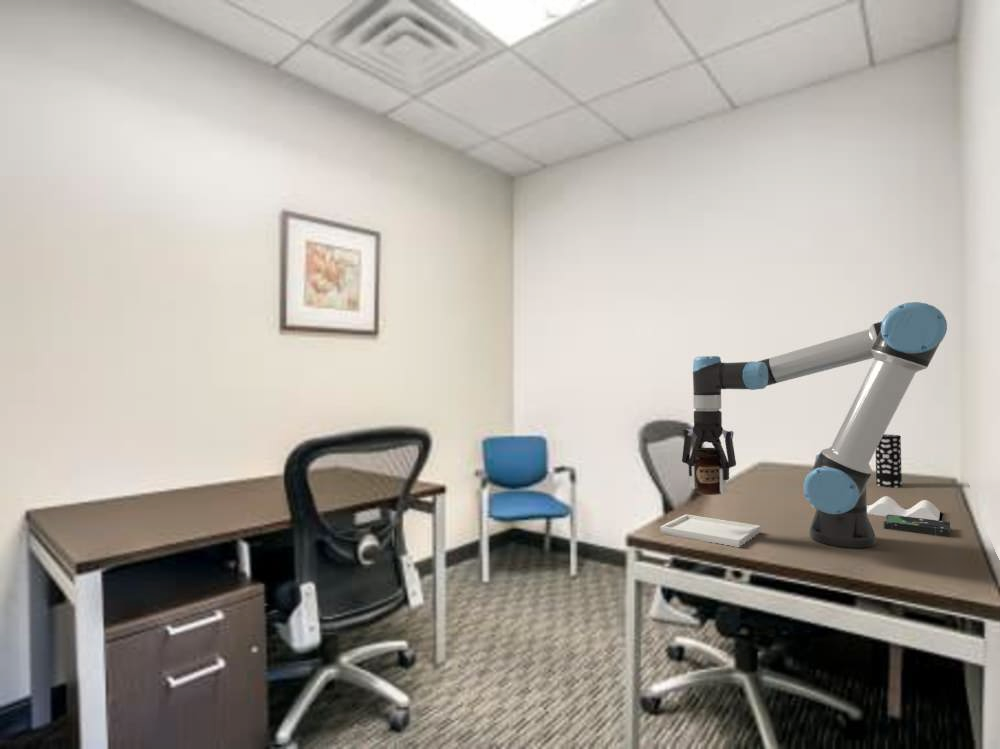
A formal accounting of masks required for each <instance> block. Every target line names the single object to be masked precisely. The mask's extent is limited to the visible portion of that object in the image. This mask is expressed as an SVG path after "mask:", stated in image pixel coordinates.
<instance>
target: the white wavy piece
mask: <svg viewBox="0 0 1000 749" xmlns="http://www.w3.org/2000/svg"><path fill="white" fill-rule="evenodd" d="M811 506H813V505H811V504H810V507H811ZM812 508H814V506H813V507H812ZM872 514H873V515H875V516H882V517H886V516H887V515H888V514H889V515H898V516H904V517H914V518H922V519H930V520H937V521H938V520H939V521H943V512H941V510H939V508H938V507H936V506H935V504H933V502H931V501H929V500H927V499H922V500H920V501H919V502H917V503H916V504H914V505H912V506H911V507H908V508H907V509H906V508H903V507H902V506H900V505H899V503H897V502H896V501H895V500H894V499H893V497H890V496H887V495H884V496H883V497H881V498H879V499H878V500H876V501H875V502H874V503H872V504H867V515H872ZM873 515H872V516H873Z"/></svg>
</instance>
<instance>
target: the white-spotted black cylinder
mask: <svg viewBox="0 0 1000 749" xmlns="http://www.w3.org/2000/svg"><path fill="white" fill-rule="evenodd" d="M901 442H902V438H901V435H900V434H898V435H897V434H888V433H887V434H885V433H884V435H883V437H882V438H881V440H880V442H879V444H878V446H877V448H876V450H875V481H876V483H875V485H877V486H878V487H882V488H883V487H884V488H891V489H892V488H894V489H896V488H902V487H903V485H902V484H903V478H902V476H903V475H902V474H903V473H902V444H901Z"/></svg>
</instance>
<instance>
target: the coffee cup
mask: <svg viewBox="0 0 1000 749" xmlns="http://www.w3.org/2000/svg"><path fill="white" fill-rule="evenodd" d="M696 449H697V448H696ZM718 452H719V450H718V451H716V450H715V448H714V447H701V448H700V449H699V448H698V449H697V450H696V451H695V452H694V454H693V455H694V457H695V468H696V481H697V487H698V488H697V493H698V494H700V495H707V496H708V495H709V496H717V495H718V496H719V495H722V492H720V469H721V468H722V465H721V463H720V458H721V457H720V455H719V453H718Z"/></svg>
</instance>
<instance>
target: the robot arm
mask: <svg viewBox="0 0 1000 749" xmlns="http://www.w3.org/2000/svg"><path fill="white" fill-rule="evenodd" d="M947 331H948V322H947V319H946V317H945V315H944V313H943V312H942V311H941V310H940V309H938V308H937V307H935V306H934V305H931V304H928V303H926V302H921V301H912V302H906V303H902V304H899V305H897V306H895V307H893V308H892V309H890V310H889V311H888V313H887V314H885V316H884V318H883V319H882V321H878V322H875V323H872V325H871V326H870V327H869V328H868V329H865V330H862V331H858V332H856V333H854V332H853V333H852V334H848V335H844V336H840V337H838V338H835V339H831V340H827V341H824V342H821V343H816V344H813V345H811V346H806V347H804V348H803V347H802V348H799V349H798V350H797V349H796V350H793V351H789V352H786V353H783V354H779V355H776V356H773V357H769V358H764V359H762V360H758V361H741V362H740V361H739V362H722V360H721V357H720V356H719V355H718V356H717V355H705V356H704V355H703V356H702V355H701V356H696V357H694V358H693V362H692V365H693V366H692V381H693V382H692V384H693V386H692V387H693V392H692V393H693V409H695V410H694V411H693V427H692V428H685V429H683V431H682V433H683V436H684V440H683V441H684V442H683V447H682V448H683V449H682V458H681V462H682V463H683V464H686V465H687V466H688V476H689V477H691V488H692V490H693V489H694V490H695V489H698V487H697V481H696V468H695V457H694V455H693V454H694V452H695V451H696V450H697V449H698V448H699V449H700V448H703V445H704V443H710V444H712V446H713V448H715V450H716V451H718V450H719V452H718V453H719V455H720V457H721V458H720V463H721V465H722V468H721V469H720V492H721V493H725V492H726V491H727V481H728V480H730V469H731V468H733V467H736V465H737V461H736V455H735V453H736V452H735V449H734V442H733V438H734V431H733V430H730V431H729V430H725V429H724V428H723V426H722V425H723V424H722V423H723V422H722V420H723V418H722V416H723V414H722V410H721V409H722V390H750V391H754V390H763V389H766V388H767V386H771V385H775V384H779V383H784V382H787V381H789V380H790V381H791V380H793V379H797V378H802V377H806V376H809V375H813V374H816V373H822V372H824V371H829V370H833V369H836V368H840V367H843V366H849V365H852V364H855V363H860V362H863V361H868V360H871V359H874V360H873V362H872V363H871V366H870V368H869V369H868V372H867V374H866V375H865V377H864V380H863V382H862V384H861V386H860V388H859V390H858V392H857V394H856V395H855V397H854V399H853V402H852V404H851V406H850V408H849V410H848V412H847V414H846V415H845V416H846V417H844V420H843V423H842V424H841V426H840V428H839V430H838V432H837V434H836V436H835V438H834V440H833V442H832V444H831V446H830V447H828V448H825V449H822V450H821V451H820V453H818V454H817V455H816V456H815V461H814V465H813V466H812V469H811V470H810V472H809V473H807V475H806V476H805V477H804V481H803V493H804V496H805V498H806V499H807V501H808V503H809V504H810V506H811V505H813V506H814V507H815V508H814V507H813V508H814V509H816V510H815V511H814V512H815V513H814V515H813V518H812V521H811V523H810V527H809V537H810V538H811V540H814V541H817V542H818V543H823V544H824V545H830V546H835V547H842V548H849V549H850V548H853V549H862V548H863V549H865V548H871V547H874V546H875V545H876V544H877V543H876V542H877V541H876V540H877V539H876V533H875V531H874V529H873V526H872V523H871V521H870V520H871V519H870V518H869V516H868V515H869V514H867V505H868V503H867V483H868V482H869V480H870V477H871V475H872V474H873V469H872V467H871V466H870V461H871V460H872V457H873V456H874V454H875V453H876V451H875V450H876V448H877V446H878V444H879V442H880V440H881V438H882V437H883V435H884V434H885V432H886V431H887V428H888V426H889V425H890V423H891V421H892V419H893V417H894V415H895V413H896V412H897V410H898V407H899V406H900V404H901V401H902V399H903V398H904V396H905V394H906V392H907V390H908V388H909V387H910V384H911V382H912V381H913V379H914V377H915V375H916V373H917V372H920V371H923V370H925V369H928V367H929V365H930V364H931V362H932V360H933V357H934V355H935V353H936V351H937V350H938V348H939V346H940V344H941V343H942V341H944V338H945V337H946V333H947ZM693 435H695V436H696V438H695V443H694V446H693V449H692V451H691V448H692V440H693V439H692V438H693ZM721 436H723V438H724V444H725V450H726V451H724V447H723V445H722V441H721V439H720V438H721ZM696 448H697V449H696ZM725 452H726V453H725ZM726 455H727V456H726Z"/></svg>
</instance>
